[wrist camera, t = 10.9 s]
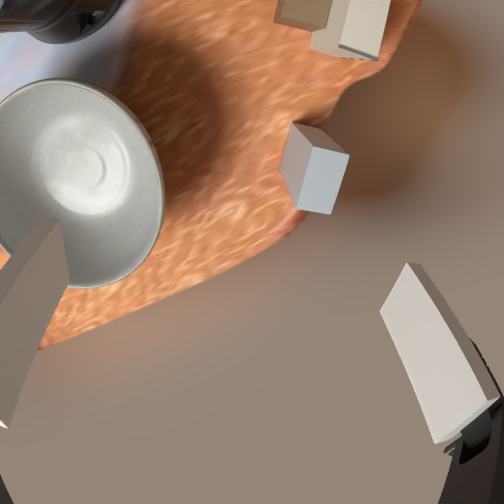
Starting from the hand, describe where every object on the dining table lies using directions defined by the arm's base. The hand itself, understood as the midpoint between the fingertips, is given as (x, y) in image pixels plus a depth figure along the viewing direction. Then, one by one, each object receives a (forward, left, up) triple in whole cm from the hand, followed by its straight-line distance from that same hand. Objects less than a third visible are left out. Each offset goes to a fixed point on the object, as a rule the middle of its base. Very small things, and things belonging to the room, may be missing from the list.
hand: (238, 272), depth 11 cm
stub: (+10, -3, -33) cm, 34 cm away
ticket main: (+8, +15, -33) cm, 37 cm away
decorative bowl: (-19, -9, -33) cm, 39 cm away
